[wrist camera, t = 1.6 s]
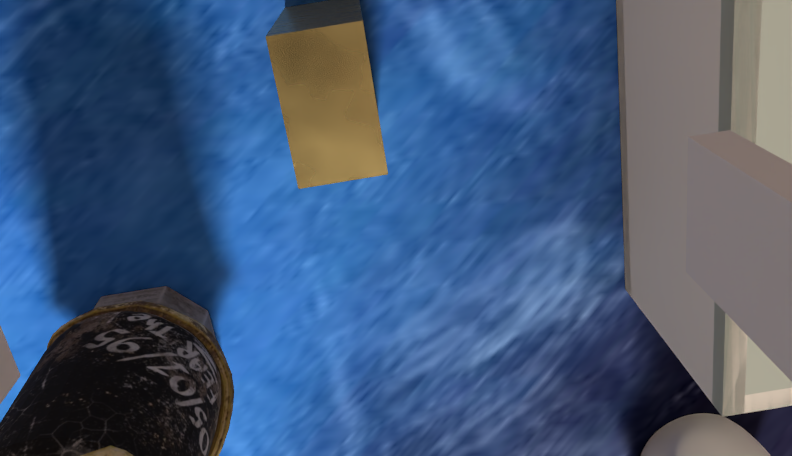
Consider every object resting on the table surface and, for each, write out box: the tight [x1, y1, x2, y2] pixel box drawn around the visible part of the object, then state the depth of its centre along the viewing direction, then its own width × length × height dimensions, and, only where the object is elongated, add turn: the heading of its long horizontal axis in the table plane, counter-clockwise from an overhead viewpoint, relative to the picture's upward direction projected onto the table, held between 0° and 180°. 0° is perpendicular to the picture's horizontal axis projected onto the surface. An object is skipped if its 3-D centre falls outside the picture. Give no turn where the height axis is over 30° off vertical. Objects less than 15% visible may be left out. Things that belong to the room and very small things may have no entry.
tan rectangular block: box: [266, 0, 388, 189], centre depth 27 cm, size 3×5×8 cm, turn 9°
